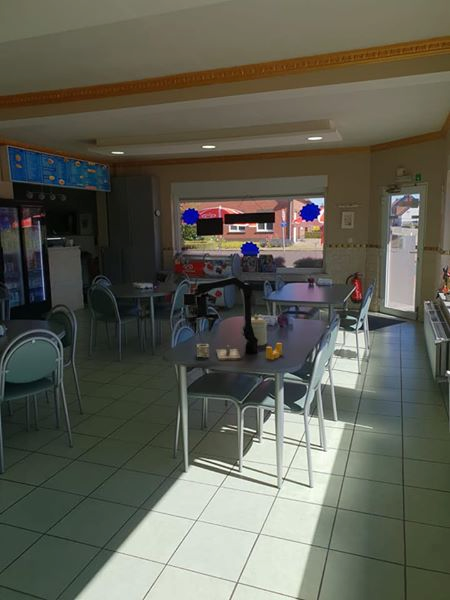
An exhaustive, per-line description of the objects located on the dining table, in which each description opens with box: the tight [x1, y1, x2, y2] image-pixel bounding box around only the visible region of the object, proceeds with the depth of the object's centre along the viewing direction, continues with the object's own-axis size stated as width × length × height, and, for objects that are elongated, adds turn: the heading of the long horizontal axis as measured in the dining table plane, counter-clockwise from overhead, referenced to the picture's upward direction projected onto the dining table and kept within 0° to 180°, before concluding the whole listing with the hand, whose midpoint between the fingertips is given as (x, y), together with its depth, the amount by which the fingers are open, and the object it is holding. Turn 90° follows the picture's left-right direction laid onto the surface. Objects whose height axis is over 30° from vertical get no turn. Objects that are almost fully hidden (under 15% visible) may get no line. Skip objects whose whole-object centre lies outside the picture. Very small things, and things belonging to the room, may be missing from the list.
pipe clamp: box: [265, 342, 283, 361], centre depth 258 cm, size 12×4×6 cm, turn 141°
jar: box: [245, 314, 268, 347], centre depth 285 cm, size 13×13×18 cm
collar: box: [196, 343, 210, 358], centre depth 259 cm, size 6×6×6 cm
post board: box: [215, 345, 242, 361], centre depth 260 cm, size 12×18×6 cm, turn 6°
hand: (202, 332), depth 260 cm, fingers open, 9 cm apart
